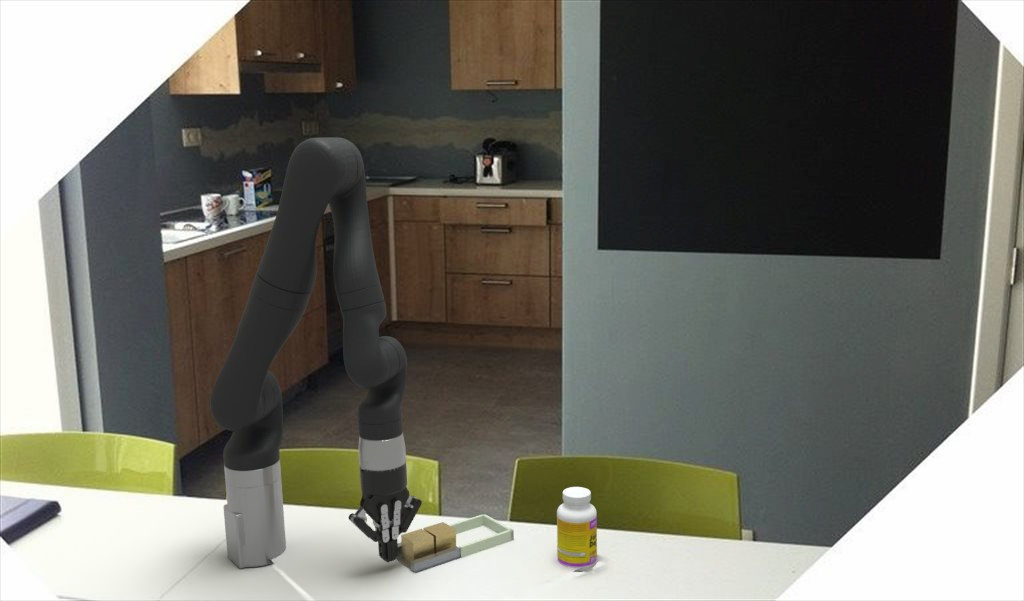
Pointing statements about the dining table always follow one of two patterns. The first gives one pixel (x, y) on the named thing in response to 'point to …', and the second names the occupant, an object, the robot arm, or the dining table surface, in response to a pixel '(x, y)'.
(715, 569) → the dining table surface
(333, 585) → the dining table surface
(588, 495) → the supplement bottle
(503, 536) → the tray
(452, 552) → the slot rail
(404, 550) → the brass block
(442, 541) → the brass block
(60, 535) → the dining table surface
